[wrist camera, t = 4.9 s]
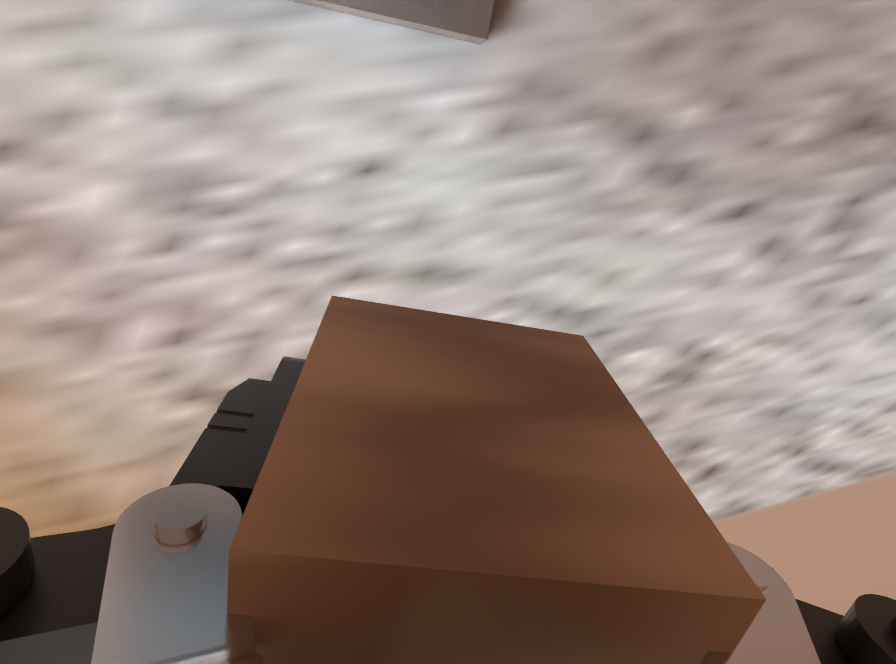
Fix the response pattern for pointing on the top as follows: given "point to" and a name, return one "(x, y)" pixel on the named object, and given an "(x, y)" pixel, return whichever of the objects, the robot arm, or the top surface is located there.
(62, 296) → the top surface
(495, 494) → the walnut block
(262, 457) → the robot arm
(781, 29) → the top surface
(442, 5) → the plate
